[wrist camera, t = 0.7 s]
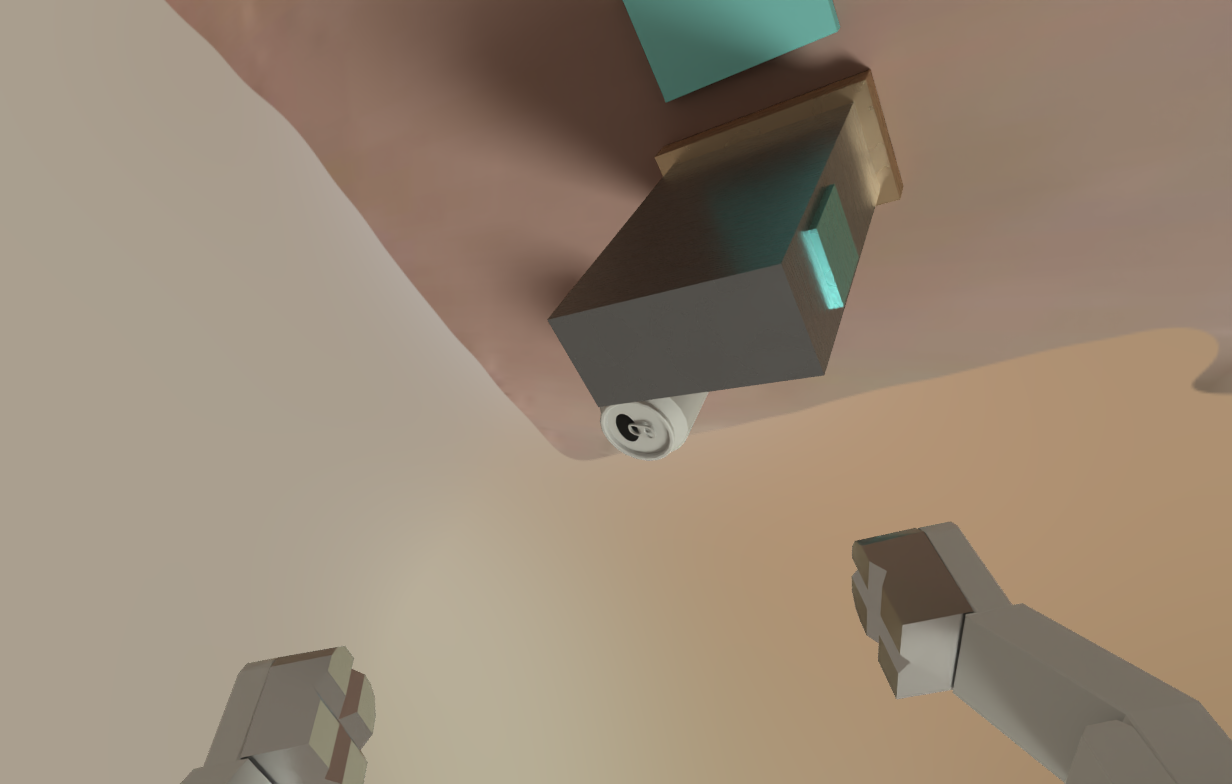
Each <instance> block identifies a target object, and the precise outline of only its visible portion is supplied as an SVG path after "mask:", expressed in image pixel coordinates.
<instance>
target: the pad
mask: <svg viewBox="0 0 1232 784" xmlns="http://www.w3.org/2000/svg"><path fill="white" fill-rule="evenodd" d="M623 2H624V5H625V7H626V9H627V12H628V14H629V16H630V19H631V21H632V23H633V26H634V28H635V31H636V33H637V35H638V38H639V40H640V42H641V45H642V47H643V50H644V52H645V54H646V57H647V59H648V61H649V64H650V66H651V68H652V71H653V73H654V76H655V78H656V80H657V83H658V85H659V87H660V90H661V92H662V94H663V97H664V99H665V102H669V101H671V100H674V99H676V98H678V97H681V96H683V95H686V94H688V93H691V92H693V91H695V90H698V89H700V88H703V87H705V86H707V85H710V84H712V83H715V82H717V81H719V80H722V79H724V78H727V77H729V76H732V75H734V74H736V73H739V72H741V71H744V70H746V69H748V68H751V67H753V66H756V65H758V64H761V63H763V62H765V61H768V60H770V59H773V58H775V57H777V56H780V55H782V54H785V53H787V52H789V51H792V50H794V49H797V48H799V47H802V46H804V45H806V44H809V43H811V42H814V41H816V40H818V39H821V38H823V37H826V36H828V35H831V34H833V33H835V32H837V31H838V30H839V28H840V25H839V21H838V18H837V15H836V11H835V8H834V4H833V1H832V0H623Z"/></svg>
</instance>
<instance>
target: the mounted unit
mask: <svg viewBox="0 0 1232 784" xmlns="http://www.w3.org/2000/svg"><path fill="white" fill-rule="evenodd" d="M655 160H656V162H657V164H658V166H659V169H660V171H661V173H662V175H663V178H662V179H661V180H660V181H659V183H658V184H657V185H656V186H655V188H654V189H653V190H652V191H651V193H650V194H649V195H648V196H647V197H646V199H645V200H644V201H643V202H642V204H641V205H640V206H639V207H638V209H637V210H636V211H635V212H634V213H633V215H632V216H631V217H630V218H629V220H628V221H627V222H626V223H625V225H624V226H623V227H622V228H621V230H620V231H619V232H618V233H617V234H616V236H615V237H614V238H613V239H612V241H611V242H610V243H609V244H608V246H607V247H606V248H605V249H604V251H603V252H602V253H601V254H600V255H599V257H598V258H597V259H596V260H595V262H594V263H593V264H592V265H591V267H590V268H589V269H588V270H587V271H586V273H585V274H584V275H583V276H582V278H581V279H580V280H579V281H578V283H577V284H576V285H575V286H574V288H573V289H572V290H571V291H570V292H569V294H568V295H567V296H566V297H565V299H564V300H563V301H562V302H561V304H560V305H559V306H558V307H557V309H556V310H555V311H554V312H553V313H552V315H551V316H550V317H549V318H548V322H549V324H550V325H551V327H552V329H553V330H554V332H555V334H556V335H557V337H558V339H559V341H560V342H561V344H562V346H563V347H564V349H565V351H566V353H567V354H568V356H569V358H570V359H571V361H572V363H573V364H574V366H575V368H576V370H577V371H578V373H579V375H580V376H581V378H582V380H583V382H584V383H585V385H586V387H587V388H588V390H589V392H590V393H591V395H592V397H593V399H594V400H595V402H596V404H597V405H598V407H603V406H610V405H617V404H624V403H631V402H638V401H646V400H653V399H660V398H667V397H674V396H681V395H688V394H695V393H702V392H709V391H716V390H723V389H730V388H737V387H744V386H751V385H759V384H766V383H773V382H780V381H787V380H794V379H801V378H808V377H815V376H822V375H825V371H826V368H827V365H828V361H829V358H830V355H831V351H832V348H833V345H834V341H835V338H836V335H837V331H838V328H839V325H840V321H841V318H842V315H843V312H844V308H845V305H846V302H847V298H848V295H849V292H850V288H851V285H852V282H853V278H854V275H855V272H856V268H857V265H858V262H859V258H860V255H861V252H862V249H863V245H864V242H865V239H866V235H867V232H868V229H869V225H870V222H871V219H872V215H873V212H874V209H875V206H877V205H881V204H885V203H888V202H892V201H896V200H900V198H901V194H902V190H903V183H902V180H901V176H900V173H899V169H898V166H897V162H896V158H895V155H894V151H893V148H892V144H891V141H890V137H889V134H888V130H887V126H886V123H885V119H884V116H883V112H882V109H881V105H880V101H879V98H878V94H877V91H876V87H875V84H874V80H873V77H872V73H871V69H870V70H867V71H864V72H862V73H859V74H856V75H854V76H851V77H848V78H846V79H843V80H840V81H838V82H835V83H832V84H830V85H827V86H824V87H822V88H819V89H816V90H814V91H811V92H808V93H806V94H803V95H800V96H798V97H795V98H792V99H790V100H787V101H784V102H782V103H779V104H776V105H774V106H771V107H768V108H766V109H763V110H760V111H758V112H755V113H752V114H750V115H747V116H744V117H742V118H739V119H736V120H734V121H731V122H728V123H726V124H723V125H720V126H718V127H715V128H712V129H710V130H707V131H704V132H702V133H699V134H696V135H694V136H691V137H688V138H686V139H683V140H680V141H677V142H675V143H672V144H669V145H667V146H664V147H663V148H662V149H661V150H660V152H659V153H658V154H657V155H656V156H655Z"/></svg>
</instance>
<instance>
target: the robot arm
mask: <svg viewBox="0 0 1232 784" xmlns="http://www.w3.org/2000/svg"><path fill="white" fill-rule="evenodd" d="M852 558H853V560H854V562H855V565H856V567H857V569H858V570H857V571H856V572H855V573H854V574H853V576H852V593H853V597H854V602H855V607H856V610H857V613H858V616H859V619H860V622H861V624H862V626H863V628H864V630H865V633H866V635H867V636H869V637H870V638H872V639H873V640H875V641H876V642H878V643H879V653H878V661H879V663H880V665H881V667H882V670H883V672H884V674H885V676H886V678H887V680H888V682H889V684H890V687H891V689H892V691H893V693H894V695H895V697H896V699H900V698H906V697H912V696H918V695H924V694H930V693H936V692H941V691H948V690H953V693H954V694H955V695H956V696H958V697H959V698H960V699H961V700H962V701H964V702H965V703H966V704H967V705H969V706H970V707H971V708H972V709H974V710H975V711H976V712H977V713H979V714H980V715H981V716H982V717H984V718H985V719H986V720H988V721H989V722H990V723H991V724H992V725H994V726H995V727H996V728H997V729H999V730H1000V731H1001V732H1002V733H1003V734H1005V735H1006V736H1007V737H1008V738H1010V739H1011V740H1012V741H1014V742H1015V743H1016V744H1017V745H1018V746H1020V747H1021V748H1022V749H1023V750H1025V751H1026V752H1027V753H1028V754H1030V755H1031V756H1032V757H1033V758H1034V759H1036V760H1037V761H1038V762H1039V763H1041V764H1042V765H1043V766H1044V767H1046V768H1047V769H1048V770H1049V771H1051V772H1052V773H1053V774H1055V775H1056V776H1057V777H1058V778H1059V779H1061V780H1062V781H1063V782H1064V784H1232V740H1231V739H1230V738H1229V737H1228V736H1227V734H1226V733H1225V732H1224V731H1223V730H1222V729H1221V727H1220V726H1219V725H1218V724H1217V722H1216V721H1215V720H1214V719H1213V718H1212V716H1211V715H1210V714H1209V713H1208V712H1207V710H1206V709H1205V708H1204V707H1203V706H1202V704H1201V703H1200V702H1199V701H1197V700H1195V699H1194V698H1192V697H1190V696H1188V695H1187V694H1185V693H1183V692H1181V691H1179V690H1178V689H1176V688H1174V687H1172V686H1170V685H1168V684H1167V683H1165V682H1163V681H1161V680H1160V679H1158V678H1156V677H1154V676H1152V675H1151V674H1149V673H1147V672H1145V671H1143V670H1142V669H1140V668H1138V667H1136V666H1134V665H1133V664H1131V663H1129V662H1127V661H1125V660H1124V659H1122V658H1120V657H1118V656H1116V655H1115V654H1113V653H1111V652H1109V651H1107V650H1105V649H1104V648H1102V647H1100V646H1098V645H1096V644H1095V643H1093V642H1091V641H1089V640H1088V639H1086V638H1084V637H1082V636H1080V635H1079V634H1077V633H1075V632H1073V631H1071V630H1070V629H1068V628H1066V627H1064V626H1062V625H1061V624H1059V623H1057V622H1055V621H1053V620H1052V619H1050V618H1048V617H1046V616H1044V615H1042V614H1041V613H1039V612H1037V611H1035V610H1033V609H1032V608H1030V607H1028V606H1026V605H1025V604H1023V603H1022V604H1016V605H1012V603H1011V602H1010V601H1009V599H1008V598H1007V596H1006V595H1005V593H1004V592H1003V590H1002V589H1001V588H1000V586H999V585H998V583H997V582H996V580H995V579H994V578H993V576H992V575H991V573H990V572H989V570H988V569H987V567H986V566H985V565H984V563H983V562H982V560H981V559H980V557H979V556H978V555H977V553H976V552H975V550H974V549H973V547H972V546H971V545H970V543H969V542H968V540H967V539H966V537H965V536H964V534H963V533H962V532H961V530H960V529H959V527H958V526H957V525H956V524H954V523H952V522H946V523H941V524H936V525H931V526H926V527H921V528H918V529H916V528H913V529H909V530H904V531H899V532H895V533H890V534H886V535H881V536H876V537H872V538H867V539H862V540H858V541H855V542H854V544H853V546H852ZM353 660H354V658H353V656H352V655H351V653H350V652H349V651H348V650H347V648H346V647H345V646H342V647H335V648H330V649H324V650H318V651H313V652H307V653H301V654H296V655H290V656H285V657H278V658H273V659H269V660H263V661H258V662H253V663H248V664H246V665H245V667H244V668H243V669H242V670H241V671H240V673H239V674H238V676H237V679H236V681H235V684H234V687H233V689H232V692H231V694H230V697H229V700H228V702H227V705H226V708H225V710H224V713H223V716H222V719H221V721H220V724H219V726H218V729H217V732H216V734H215V737H214V740H213V743H212V745H211V748H210V750H209V753H208V756H207V758H206V761H205V764H204V766H203V767H201V768H197V769H193V770H192V772H191V773H190V774H189V775H188V776H187V777H186V778H185V779H184V780H183V781H182V782H181V783H180V784H363V783H364V778H365V772H366V767H367V761H366V759H365V757H364V755H363V754H362V752H361V748H362V747H363V746H364V745H365V743H366V742H367V741H368V739H369V738H370V737H371V735H372V734H373V729H374V722H375V716H376V713H375V696H374V693H373V690H372V687H371V684H370V682H369V680H368V679H367V677H366V676H365V675H364V674H362V673H360V672H358V671H355V670H353V669H352V665H353Z"/></svg>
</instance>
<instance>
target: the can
mask: <svg viewBox="0 0 1232 784" xmlns="http://www.w3.org/2000/svg"><path fill="white" fill-rule="evenodd" d="M707 394H708V392H702V393H695V394H688V395H681V396H674V397H667V398H660V399H653V400H646V401H638V402H631V403H624V404H617V405H610V406H603V407H600V410H601V418H600V423H601V428H602V431H603V433H604V434H605V436H606V438H607V439H608V441H609V442H610V443H611V444H612V445H613V446H614V447H615V448H617V449H618V450H620V451H621V452H623V453H624V454H626V455H629V456H631V457H633V458H636V459H641V460H648V461H650V460H659V459H661V458H663V457H666V456H667V455H668V454H669V453H670V452H672V451H674V450H677V449H679V448H680V447H681V445H682V444H683V443H684V442H685V441H686V439H687V437H688V435H689V432H690V430H691V428H692V426H693V424H694V422H695V420H696V418H697V416H698V413H699V411H700V409H701V407H702V405H703V403H704V401H705V399H706V396H707Z"/></svg>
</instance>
